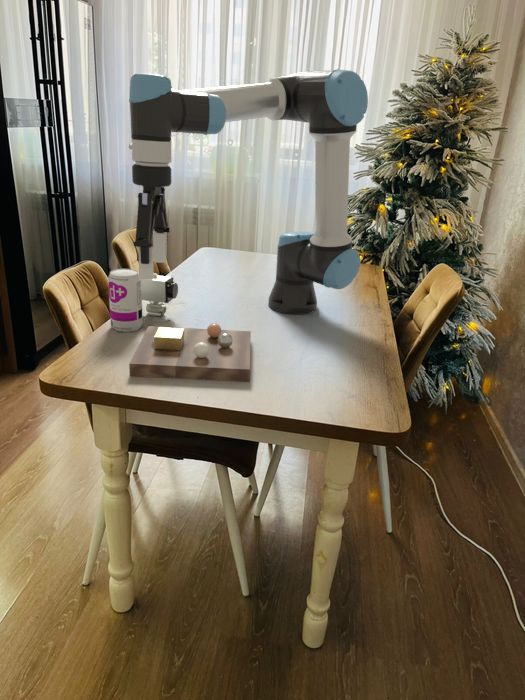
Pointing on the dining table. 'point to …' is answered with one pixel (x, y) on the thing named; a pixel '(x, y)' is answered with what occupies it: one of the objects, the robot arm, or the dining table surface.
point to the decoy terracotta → (214, 330)
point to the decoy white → (201, 350)
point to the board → (194, 357)
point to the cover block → (169, 338)
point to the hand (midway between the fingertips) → (153, 270)
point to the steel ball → (225, 340)
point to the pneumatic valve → (158, 293)
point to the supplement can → (125, 300)
